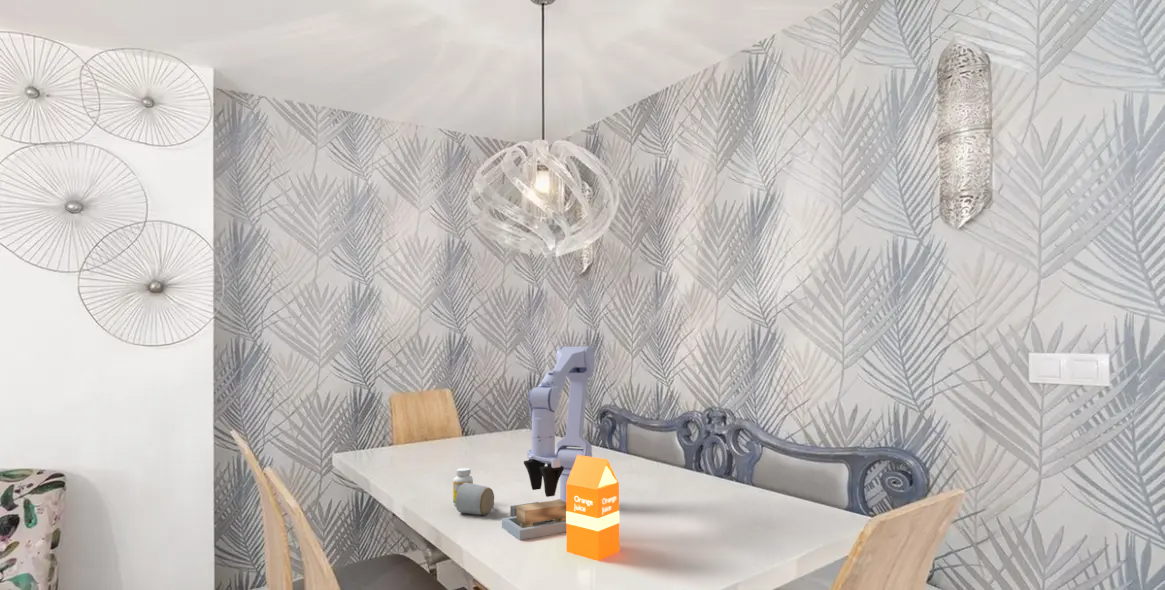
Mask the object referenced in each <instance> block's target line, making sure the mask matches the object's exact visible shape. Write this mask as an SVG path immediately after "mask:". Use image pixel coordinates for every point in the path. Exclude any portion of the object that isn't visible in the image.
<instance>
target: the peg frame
mask: <svg viewBox="0 0 1165 590" xmlns="http://www.w3.org/2000/svg"><path fill="white" fill-rule="evenodd" d="M552 520H554V521H553V522H552V523H551V521H550V520H546V521H548V522H550V523H546V522H545V521H540V522H542V523H545V524H540V523H539V522H534V523H536V524H539V525H534V524H533V523H528V524H524V523H523V522H521V521H519V520H518V519H516V516H514V517H511V516H508V517H504V518H501V528H502V529H503V528H504V529H505V531H506V530H507V531H508V533H509V534H510V533H511V534H510V535H512V536H513V535H514V536H515V538H516V539H517V538H518V541H523V540H522V539H525V540H528V539H527V538H530V539H533V538H534V537H535V538H540V536H541V537H544V536H546V537H547V536H549V535H550V536H552V535H557V534H562V532H563V533H567V523H566V517H563V518H557V519H552ZM504 529H503V530H504ZM507 531H506V532H507ZM514 536H513V537H514Z"/></svg>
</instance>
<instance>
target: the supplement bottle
mask: <svg viewBox="0 0 1165 590" xmlns="http://www.w3.org/2000/svg"><path fill="white" fill-rule="evenodd" d="M455 475H456V476H455V477H454V478H453V481H452V482H453V486H452V488H453V489H452V490H453V491H452V493H453V494H452V504H453V506H455V507H456V495H457V492H458V489H459V488H460V486H461V485H462V484H463V483H471V484H474V480H473V476H472V475H471V468H469V467H460V468H457V469H456V470H455Z"/></svg>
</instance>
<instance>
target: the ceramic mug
mask: <svg viewBox="0 0 1165 590" xmlns="http://www.w3.org/2000/svg"><path fill="white" fill-rule="evenodd" d="M494 506H495V493H494V491H493V489H492V488H491V487H489V486H486V485H480V484H476V483H473V484H471V483H463V484H462V485H461V486H460V488H459V489H458V492H457V495H456V506H455V508H456V511H457V512H458V513H461V514H469V515H476V516H485V515H488V514H489V513H490V512H491V511H492V509H494Z"/></svg>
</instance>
